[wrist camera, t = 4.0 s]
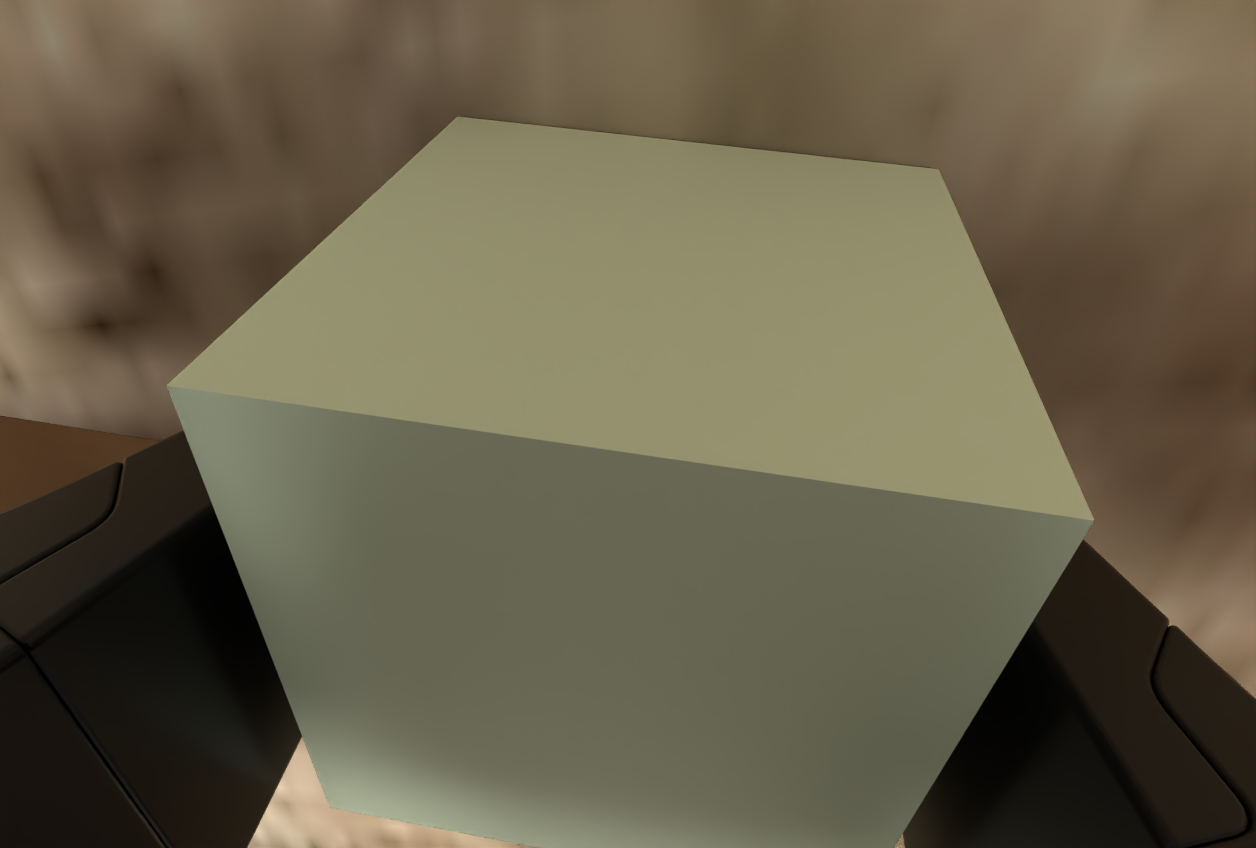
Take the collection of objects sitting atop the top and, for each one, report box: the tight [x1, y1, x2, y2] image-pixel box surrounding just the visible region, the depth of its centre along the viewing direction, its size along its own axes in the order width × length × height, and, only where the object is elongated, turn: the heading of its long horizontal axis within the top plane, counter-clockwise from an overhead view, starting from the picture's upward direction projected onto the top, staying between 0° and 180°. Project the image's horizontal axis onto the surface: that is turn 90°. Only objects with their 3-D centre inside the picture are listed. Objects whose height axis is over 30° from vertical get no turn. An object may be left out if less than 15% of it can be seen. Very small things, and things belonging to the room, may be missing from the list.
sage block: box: [166, 116, 1095, 848], centre depth 8 cm, size 5×5×5 cm
